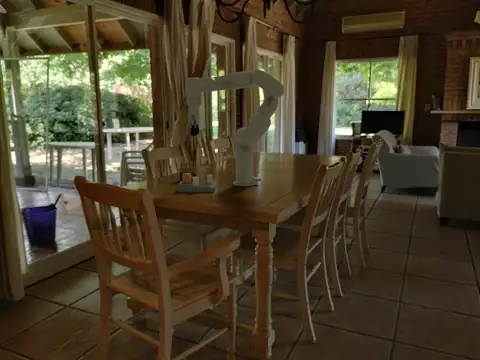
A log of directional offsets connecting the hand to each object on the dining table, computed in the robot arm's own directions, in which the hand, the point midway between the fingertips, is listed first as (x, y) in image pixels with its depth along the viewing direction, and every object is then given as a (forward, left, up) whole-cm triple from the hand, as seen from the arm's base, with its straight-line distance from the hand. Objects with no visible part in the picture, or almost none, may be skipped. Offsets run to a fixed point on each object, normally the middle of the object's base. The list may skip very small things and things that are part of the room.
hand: (195, 135), depth 213 cm
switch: (-1, +10, -26) cm, 28 cm away
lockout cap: (+4, +6, -26) cm, 27 cm away
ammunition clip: (+7, -18, -29) cm, 35 cm away
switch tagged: (-8, +4, -26) cm, 27 cm away
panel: (-2, +6, -28) cm, 29 cm away
